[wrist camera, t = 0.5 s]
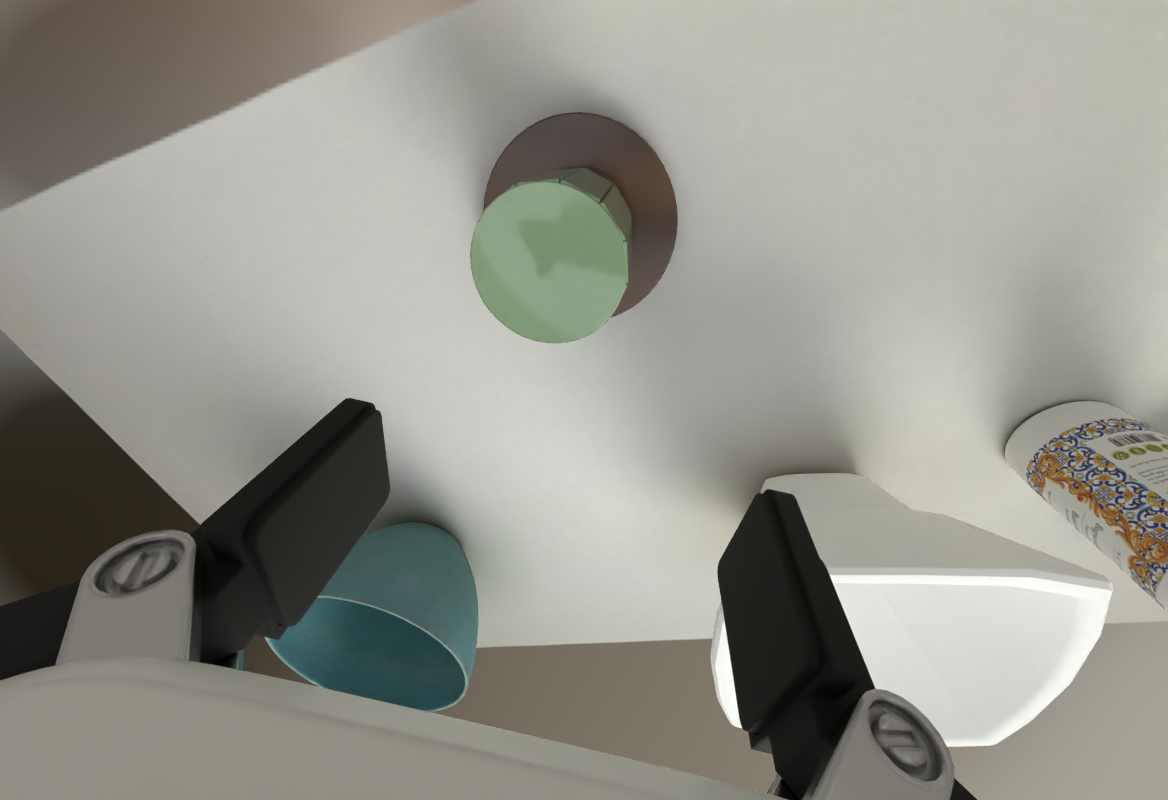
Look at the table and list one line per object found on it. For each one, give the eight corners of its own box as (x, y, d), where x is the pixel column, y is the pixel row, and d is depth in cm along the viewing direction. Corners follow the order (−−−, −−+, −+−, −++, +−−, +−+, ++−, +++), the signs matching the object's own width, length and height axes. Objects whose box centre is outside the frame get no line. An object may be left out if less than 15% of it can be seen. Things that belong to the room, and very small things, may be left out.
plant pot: (313, 512, 46) (217, 620, 36) (439, 464, 40) (366, 578, 30) (418, 608, 54) (363, 720, 44) (537, 580, 48) (507, 703, 37)
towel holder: (471, 126, 25) (375, 120, 16) (678, 100, 23) (696, 78, 14) (509, 318, 31) (454, 389, 22) (674, 310, 29) (686, 385, 21)
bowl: (688, 420, 34) (711, 570, 22) (966, 405, 30) (1167, 574, 19) (693, 571, 43) (711, 732, 32) (906, 573, 40) (1014, 755, 28)
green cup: (508, 174, 24) (452, 189, 17) (630, 162, 23) (623, 172, 16) (528, 294, 27) (488, 346, 20) (634, 288, 26) (630, 341, 19)
